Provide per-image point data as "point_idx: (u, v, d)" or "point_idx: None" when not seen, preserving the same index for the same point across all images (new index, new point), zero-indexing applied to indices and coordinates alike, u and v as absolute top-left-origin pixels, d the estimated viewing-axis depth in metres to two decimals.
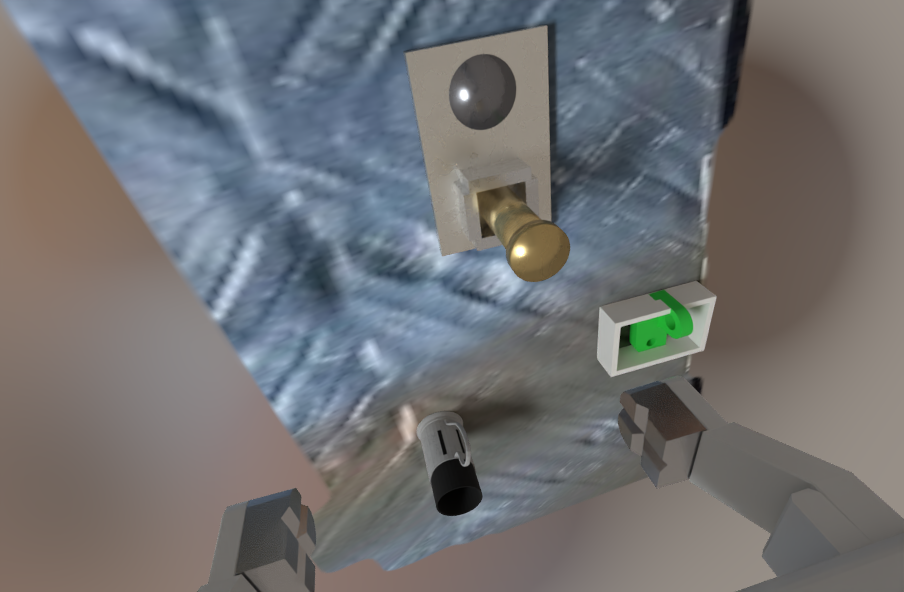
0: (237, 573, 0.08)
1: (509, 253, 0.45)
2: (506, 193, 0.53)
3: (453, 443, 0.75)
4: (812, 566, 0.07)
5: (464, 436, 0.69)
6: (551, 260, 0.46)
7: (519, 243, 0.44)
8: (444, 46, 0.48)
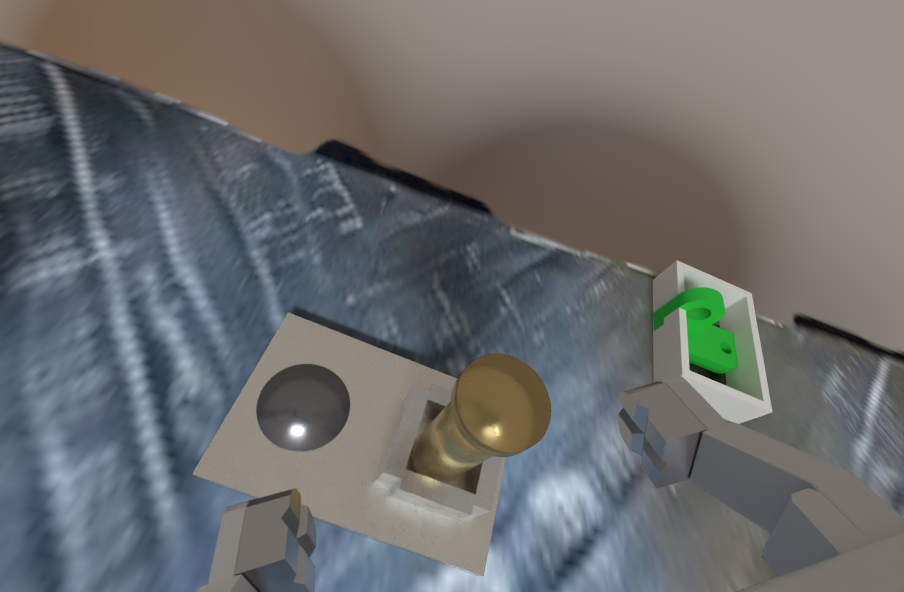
0: (237, 573, 0.08)
1: (482, 444, 0.27)
2: (427, 428, 0.38)
3: None
4: (812, 566, 0.07)
5: None
6: (522, 389, 0.29)
7: (470, 421, 0.27)
8: (223, 423, 0.37)
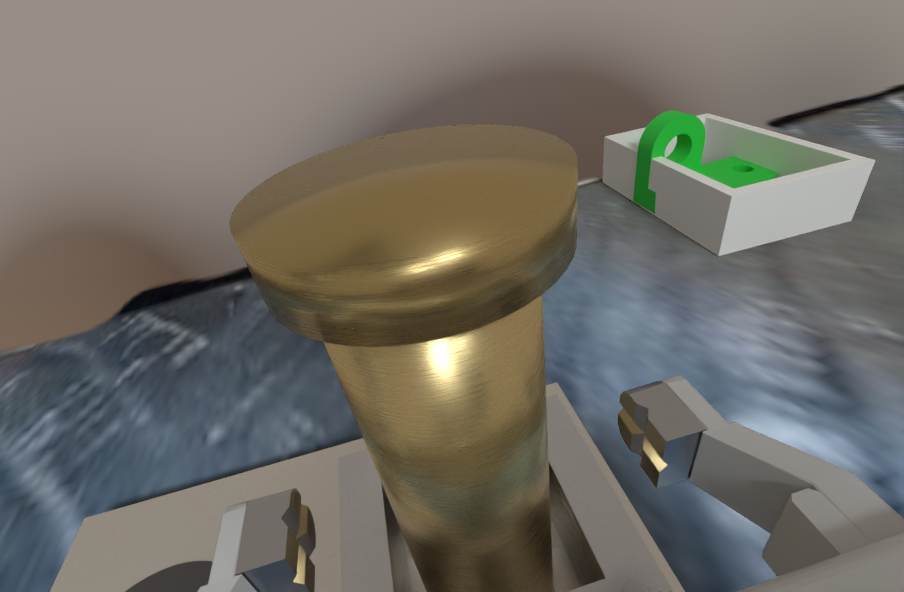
0: (237, 573, 0.08)
1: (389, 285, 0.06)
2: None
3: None
4: (812, 566, 0.07)
5: None
6: (441, 147, 0.10)
7: (297, 248, 0.06)
8: None
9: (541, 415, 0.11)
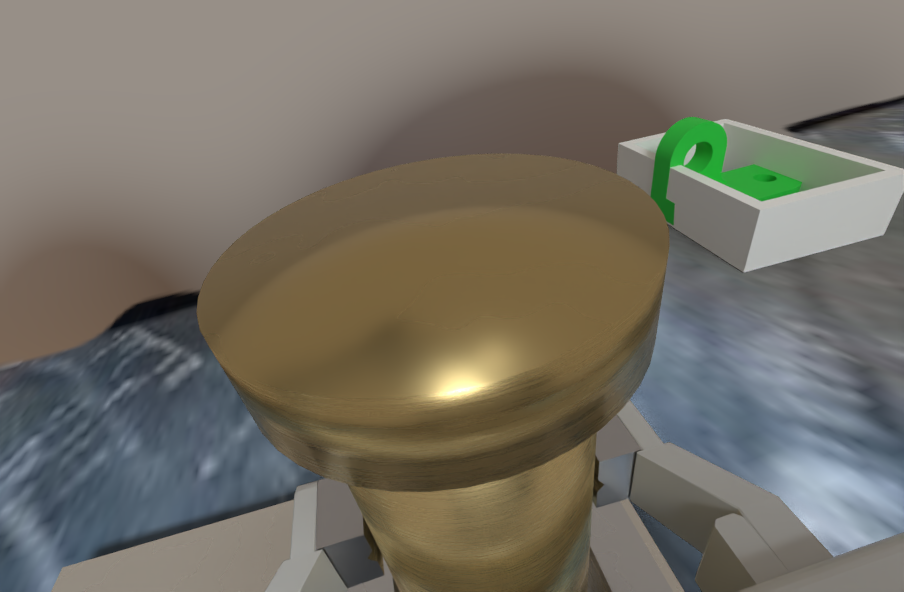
0: (317, 548, 0.09)
1: (419, 424, 0.04)
2: None
3: None
4: (812, 566, 0.07)
5: None
6: (472, 187, 0.08)
7: (286, 359, 0.05)
8: None
9: (590, 510, 0.09)
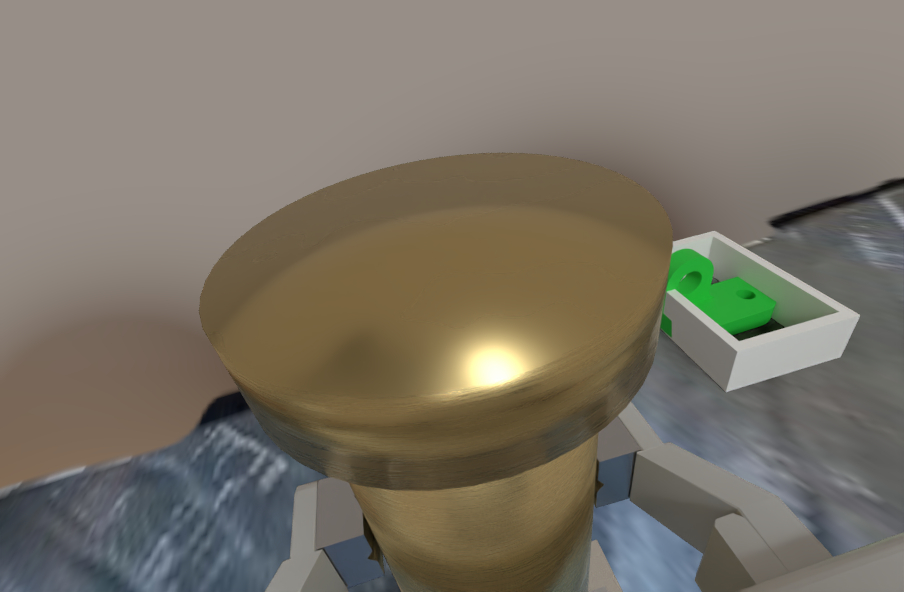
0: (317, 548, 0.09)
1: (423, 423, 0.04)
2: None
3: None
4: (812, 566, 0.07)
5: None
6: (474, 186, 0.08)
7: (289, 358, 0.05)
8: None
9: (591, 509, 0.09)
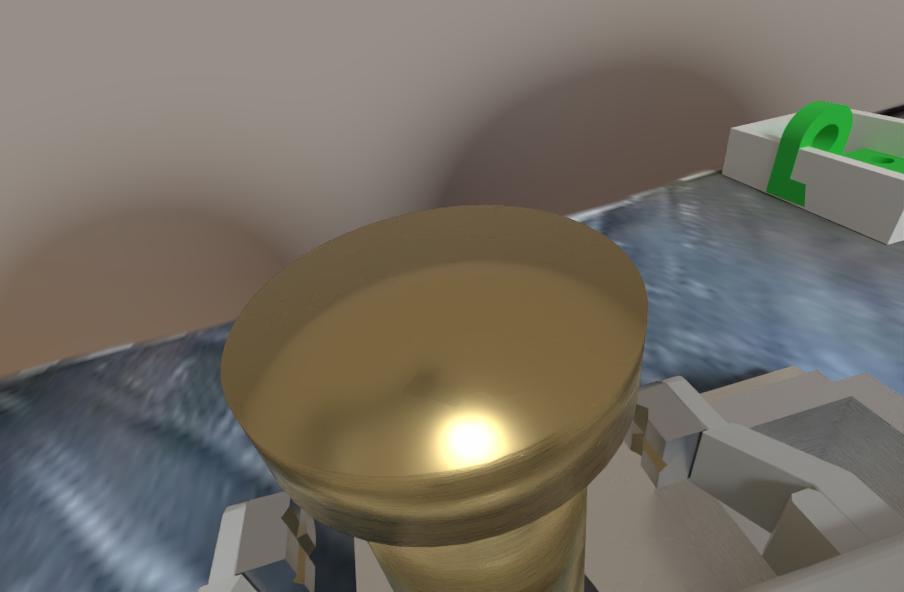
0: (237, 573, 0.08)
1: (423, 497, 0.05)
2: None
3: None
4: (812, 566, 0.07)
5: None
6: (470, 244, 0.08)
7: (305, 433, 0.05)
8: None
9: (583, 539, 0.09)
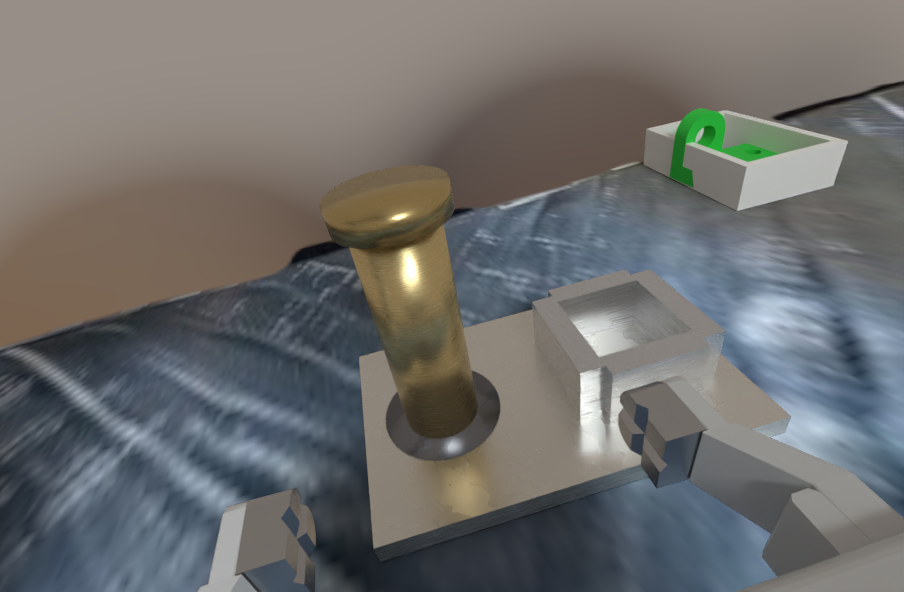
0: (237, 573, 0.08)
1: (377, 225, 0.19)
2: None
3: None
4: (812, 566, 0.07)
5: None
6: (401, 177, 0.23)
7: (347, 215, 0.20)
8: (369, 478, 0.27)
9: (449, 295, 0.24)
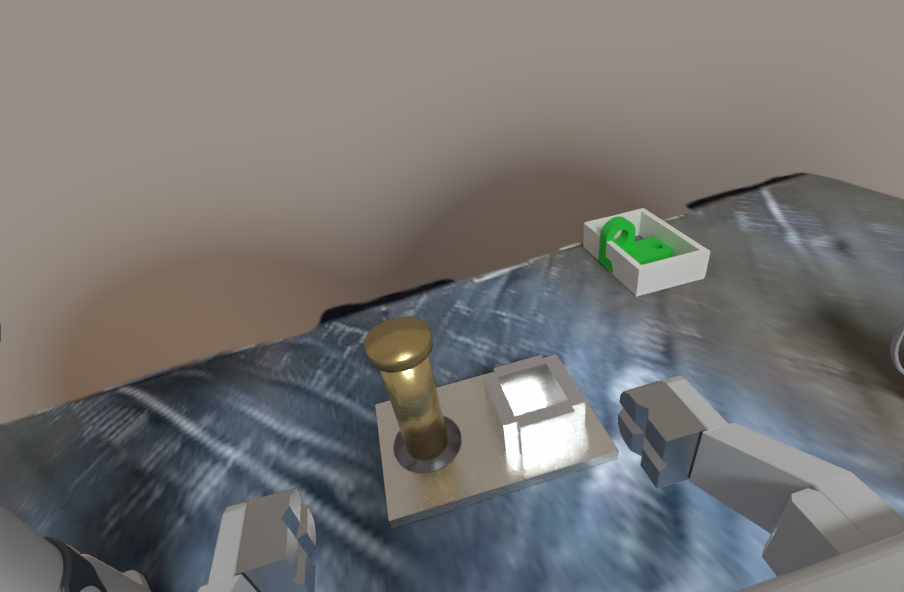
0: (237, 573, 0.08)
1: (394, 363, 0.40)
2: None
3: None
4: (812, 566, 0.07)
5: (897, 338, 0.43)
6: (405, 327, 0.44)
7: (379, 357, 0.41)
8: (385, 483, 0.48)
9: (430, 386, 0.45)
